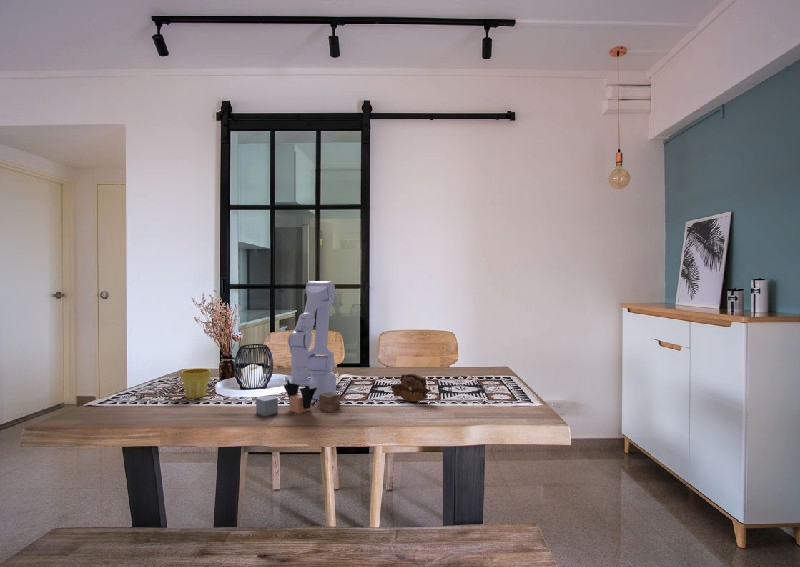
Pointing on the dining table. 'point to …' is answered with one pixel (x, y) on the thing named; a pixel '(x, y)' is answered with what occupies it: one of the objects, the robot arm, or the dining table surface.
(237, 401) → the dining table surface
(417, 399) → the wooden carving
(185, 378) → the plant pot
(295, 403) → the terracotta block
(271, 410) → the slate block
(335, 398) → the walnut block
